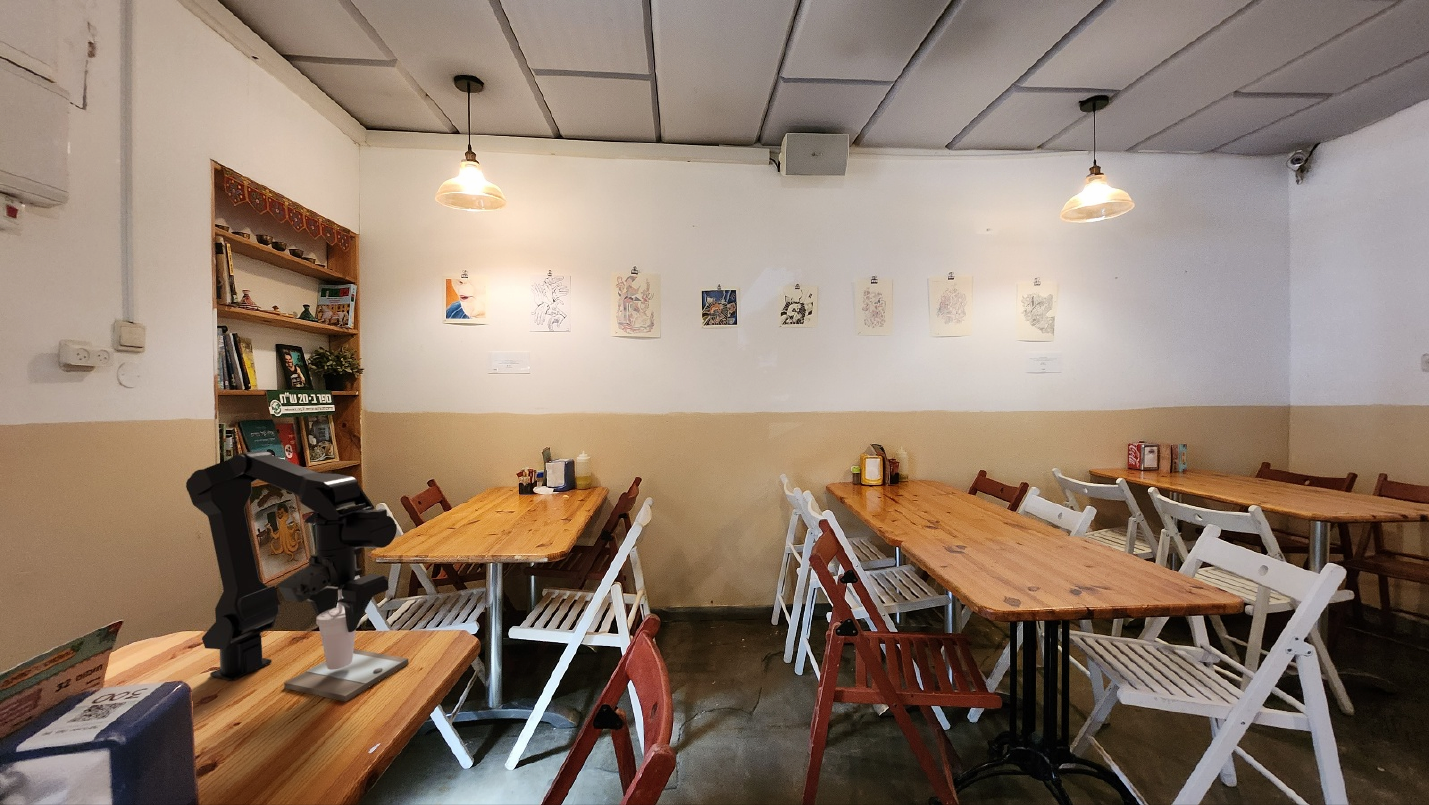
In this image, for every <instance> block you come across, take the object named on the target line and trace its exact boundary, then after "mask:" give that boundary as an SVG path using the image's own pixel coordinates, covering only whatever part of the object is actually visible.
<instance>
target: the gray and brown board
mask: <svg viewBox="0 0 1429 805" xmlns="http://www.w3.org/2000/svg"><path fill="white" fill-rule="evenodd" d="M407 665H409V658H407V657H403V656H402V657H401V656H396V655H390V654H384V653H378V652H373V651H368V650H362V649H357V648H354V650H353V659H352V662H351V663H350V664H349V665H347V666H345V667H342V668H339V669H334V670H330V669H328V668H327V664H326V660H325V661H322V662H321V663H319V664H317V665H315V666H312V667H311V668H309V669H307V670H305V671H304V672H302V673H300V674H297V675H296V676H294V677H292V678H290V679H288V680H287V681H284V682H283V686H284V689H286V690H292V691H296V692H300V693H301V692H302V693H305V694H309V695H314V694H315V695H314V696H318V695H319V697H324V698H328V699H332V700H337V701H341V702H348V701H350V700H351V699H353V698H354V697H356V696H358V695H359V694H360V693H362V692H364V691H366V690H367V688H368V687H369V686H371V687H373V686H374V685H376V684H377V683H379V682H380V681H379V680H381V679H382V680H384V679H385V678H384V677H386V678H387V677H389V676H391V675H392V674H394V673H396V672H397V671H399V670H401V669H402V668H403V667H405V666H407ZM398 669H399V670H398ZM396 670H397V671H396ZM395 671H396V672H395ZM393 672H394V673H393ZM390 674H391V675H390ZM383 678H384V679H383ZM382 680H381V681H382ZM378 681H379V682H378ZM375 683H376V684H375ZM373 684H374V685H373ZM369 688H370V687H369ZM369 688H368V689H369ZM365 689H366V690H365ZM357 694H358V695H357Z"/></svg>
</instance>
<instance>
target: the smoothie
mask: <svg viewBox="0 0 1429 805" xmlns="http://www.w3.org/2000/svg"><path fill="white" fill-rule="evenodd" d="M340 599H343V596H342V589H338V594H337V601H338V600H340ZM337 605H338V606H337V607H335V608H333V609H330V610H327V611H325V612H323V613H321V614H319V615H318V616H317V615H316V621H315V624H316V625H317V626H318V628H319V633H320V637H321V643H322V648H323V653H324V658H325V661H326V664H327V668H328V669H330V670H334V669H339V668H342V667H345V666H347V665H349V664H350V663H351V662H352V659H353V650H354V649H355V640H356V631H357V629H356V630H355V631H353V632H348V628H347V623H346V616H345V609H344V606H342V605H341V604H339V603H337Z"/></svg>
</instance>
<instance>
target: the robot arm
mask: <svg viewBox="0 0 1429 805" xmlns="http://www.w3.org/2000/svg"><path fill="white" fill-rule="evenodd" d="M258 480H259V481H260V482H264V483H266V484H269V485H271V486H274V487H276V488H278V489H282V490H284V491H287V492H289V493H291V494H294V495H296V496H297V497H298V499H299V500H298V501H299V502H300V504H301V505H303V506H305V507H306V508H308V509H310V510H311V511H313V512H312V513H311V515H309V516H307V518H306V519H305V520H304V522H305V524H315V547H316V550H315V551H316V553H313V554H311V555H310V557H309V558H308V565H306V566H305V567H303V568H302V569H299V570H298V571H296V572H294V573H293V574H291V575H289V576H288V577H287V578H285V579H283V580H282V581H280V582H279V583H278V584H277V587H278V589H279V591H280V593H281V595H282V597H283V599H284V600H285V602H286V601H287V602H290V601H291V602H294V603H297V604H300V603H303V602H306V601H308V603H310V605H311V607H312V608H313V610H314V612H315V615H316V617H317V616H318V615H319V614H321V613H323V612H325V611H327V610H330V609H333V608H336V607H335V606H336V603H337V604H338V603H339V604H341V605H342V606H344V609H345V616H346V623H347V628H348V632H353V631H355V630H356V631H357V628H358V626H359V624H360V622H361V620H362V617H363V616H364V613H365V612H366V610H367V608H368V606H369V604H370V602H371V601H372V599H373V597H374V596H376V595H379V594H382V593H384V592H386V591H388V590H389V589H390V579H389V577H387V576H385V575H383V574H374V573H369V574H367V575H364V576H361V575H363V568H357V555H358V554H361V553H362V548H367V549H368V548H370V549H371V548H373V549H382V548H383V549H384V548H386V547H387V546H389V545H390V544H391V543H393V541H394V539H395V538H396V535H397V531H398V530H397V529H398V526H397V524H396V522H395V519H394V518H393V517H392V516H389V515H388V510H387V508H379V509H375V506H374V504H373V503H372V500H370V498H369V497H368V496H367V494H366V493H365V491H364V490H363V488H362V487H361V486H360V484H359V480H358V479H356V478H355V477H353V476H350V475H345V474H338V473H323V472H317V471H314V470H311V469H308V468H307V467H303V466H301V465H298V464H296V463H293V462H290V461H288V460H286V459H283V458H280V457H277V456H275V455H273V454H272V453H271V452H269V451H265V450H256V451H249V452H248V451H247V452H246V451H245V452H240V453H238V454H235V455H233V456H232V457H230V458H228V459H226V460H224V461H221V462H218V463H215V464H213V465H211V466H208V467H204V468H202V469H201V468H200V469H197V470H195V471H194V472H193V473H191V475H190V477H189V478H188V479H187V480H186V484H185V488H186V491H187V492H188V495H189V497H190V500H191V503H192V505H193V506H194V507H196V508H197V509H198V510H199V511H201V513H203V514H204V515H206V517H207V518H208V521H209V529H210V531H211V537H212V541H213V546H214V551H215V556H216V560H217V566H218V570H219V575H220V579H221V583H222V588H223V589H222V590H223V592H222V593H221V595H220V598H219V600H218V602H217V604H216V606H215V608H214V611H215V612H214V614H215V622H214V623H213V624H212V625H211V627H210V628H209V629H208V630H207V631H206V632H205V633H204V634H203V636H202V637H201V640H202V643H203V646H204V648H205V649H211V650H219V668H218V669H216V670H213V671H212V672H210V673H209V676H210V677H214V678H218V679H222V680H226V681H231V682H232V681H235V680H236V679H239V678H242V677H244V676H246V675H248V674H250V673H252V672H255V671H256V670H259V669H261V668H263V667H265V666H267V665H269V664H271V663H272V659H269V658H265V657H263V644H262V642H263V641H262V640H263V639H262V634H261V633H264V632H266V631H268V630H271V629H273V628H274V627H275V622H276V619H277V616H278V615H279V613H280V612H279V611H280V608H279V606H280V605H281V602H280V600H279V597H278V591H277V590H278V589H277V587H276V586H275V585H270V586H269V585H266V584H265V583H264V582H263V581H261V580H260V576H259V572H258V567H257V562H256V558H255V557H256V556H255V553H254V549H253V544H252V538H251V534H250V529H249V524H248V521H247V516H246V510H245V507H246V506H247V503H248V502H249V500H250V497H251V495H252V494H253V488H252V485H253V484H254V483H255V482H257V481H258ZM358 576H361V577H359V578H356V577H358ZM339 589H342V599H340V600H338V590H339Z"/></svg>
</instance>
